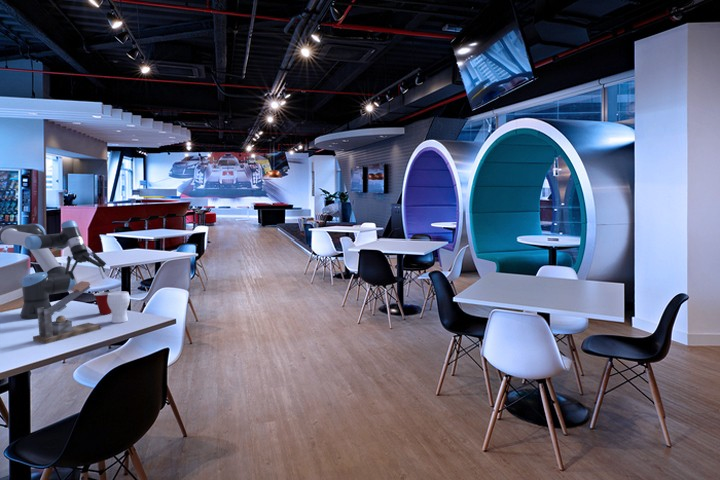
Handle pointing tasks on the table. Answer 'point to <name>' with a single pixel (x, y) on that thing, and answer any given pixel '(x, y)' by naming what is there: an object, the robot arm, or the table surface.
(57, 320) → the walnut
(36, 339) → the press base
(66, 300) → the lever
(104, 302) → the plastic cup
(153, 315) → the table surface
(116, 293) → the cup
